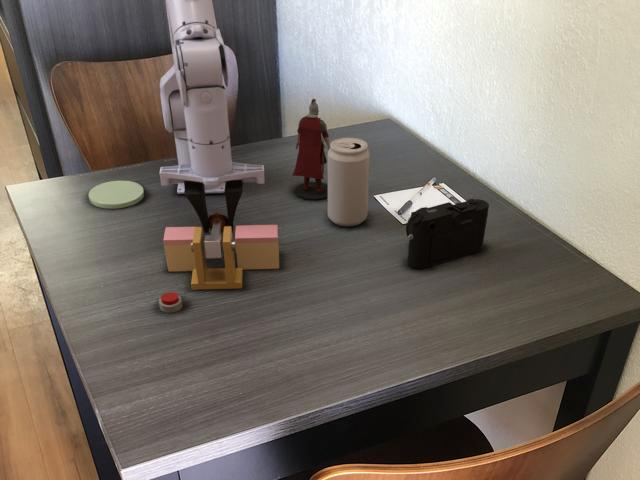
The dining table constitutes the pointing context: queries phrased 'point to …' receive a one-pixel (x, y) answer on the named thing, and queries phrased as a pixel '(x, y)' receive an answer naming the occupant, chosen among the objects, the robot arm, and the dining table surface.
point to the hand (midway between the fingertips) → (218, 229)
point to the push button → (170, 302)
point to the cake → (257, 246)
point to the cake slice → (179, 248)
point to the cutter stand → (219, 276)
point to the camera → (446, 232)
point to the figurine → (311, 155)
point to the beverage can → (348, 181)
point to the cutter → (215, 235)
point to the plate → (116, 194)
